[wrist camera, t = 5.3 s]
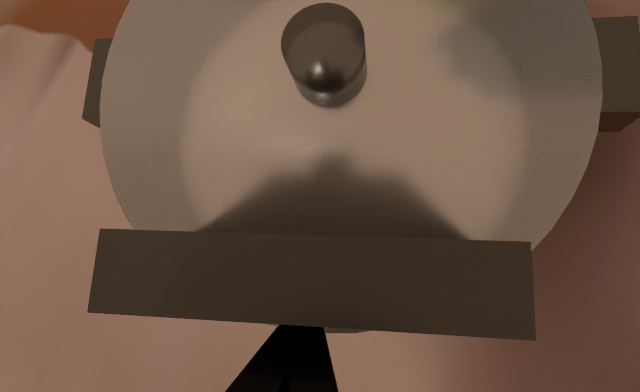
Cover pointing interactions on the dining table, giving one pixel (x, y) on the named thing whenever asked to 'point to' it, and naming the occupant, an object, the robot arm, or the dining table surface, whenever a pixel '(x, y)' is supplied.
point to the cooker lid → (343, 159)
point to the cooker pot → (615, 51)
